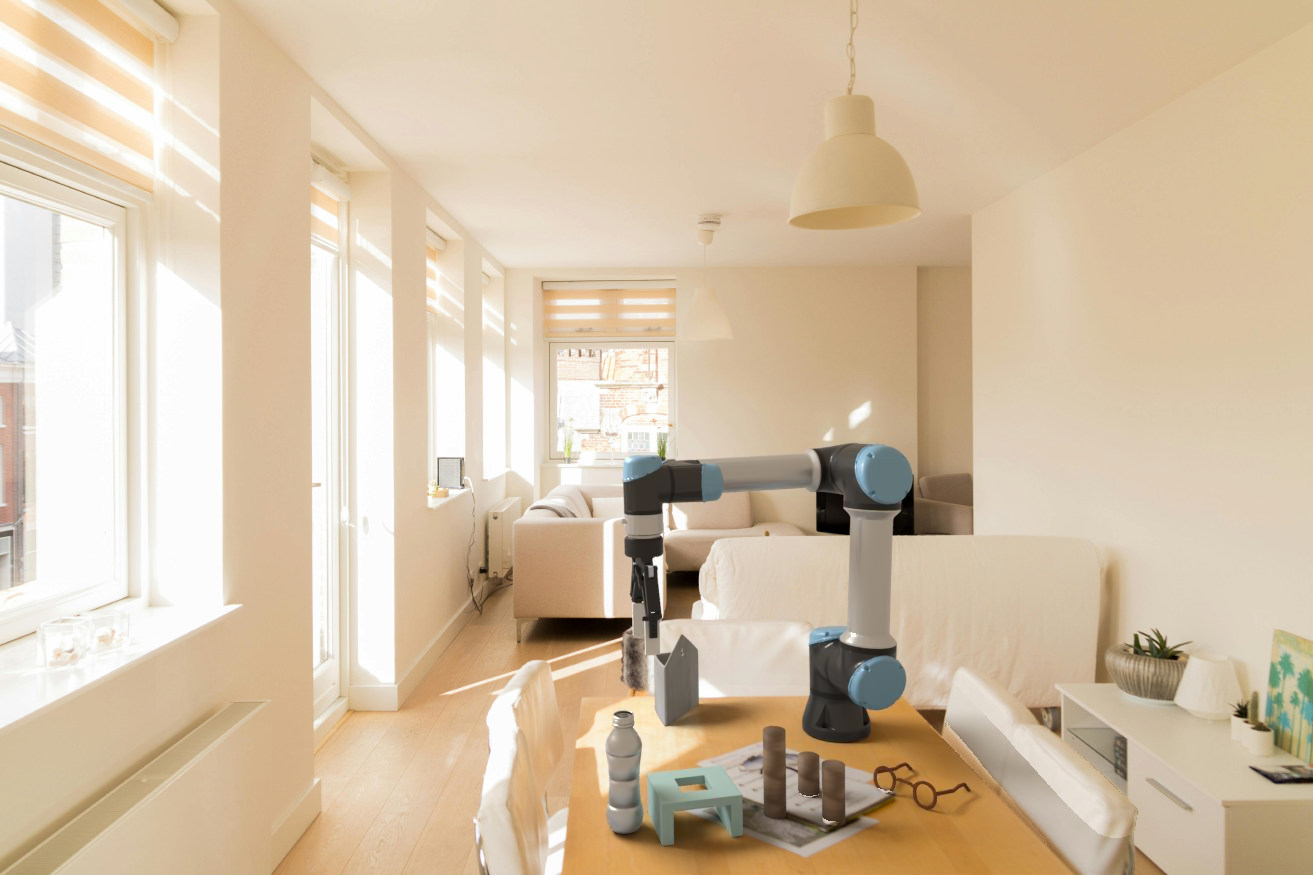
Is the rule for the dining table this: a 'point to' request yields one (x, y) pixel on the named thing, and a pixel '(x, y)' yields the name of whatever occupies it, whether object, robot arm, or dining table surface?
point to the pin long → (774, 771)
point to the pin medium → (833, 791)
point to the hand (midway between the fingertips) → (645, 644)
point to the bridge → (693, 798)
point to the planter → (676, 681)
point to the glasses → (885, 769)
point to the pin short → (808, 773)
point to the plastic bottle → (624, 775)
